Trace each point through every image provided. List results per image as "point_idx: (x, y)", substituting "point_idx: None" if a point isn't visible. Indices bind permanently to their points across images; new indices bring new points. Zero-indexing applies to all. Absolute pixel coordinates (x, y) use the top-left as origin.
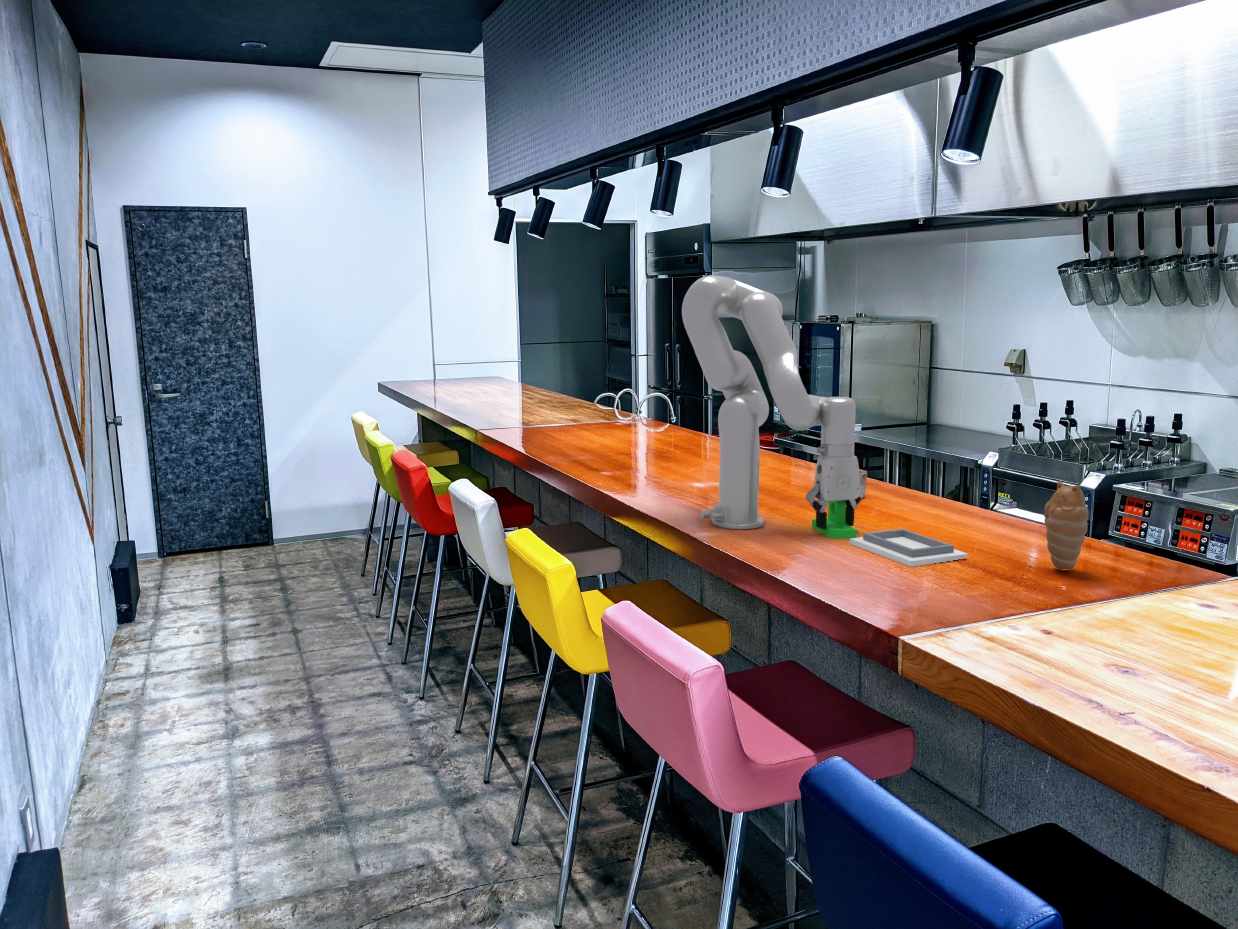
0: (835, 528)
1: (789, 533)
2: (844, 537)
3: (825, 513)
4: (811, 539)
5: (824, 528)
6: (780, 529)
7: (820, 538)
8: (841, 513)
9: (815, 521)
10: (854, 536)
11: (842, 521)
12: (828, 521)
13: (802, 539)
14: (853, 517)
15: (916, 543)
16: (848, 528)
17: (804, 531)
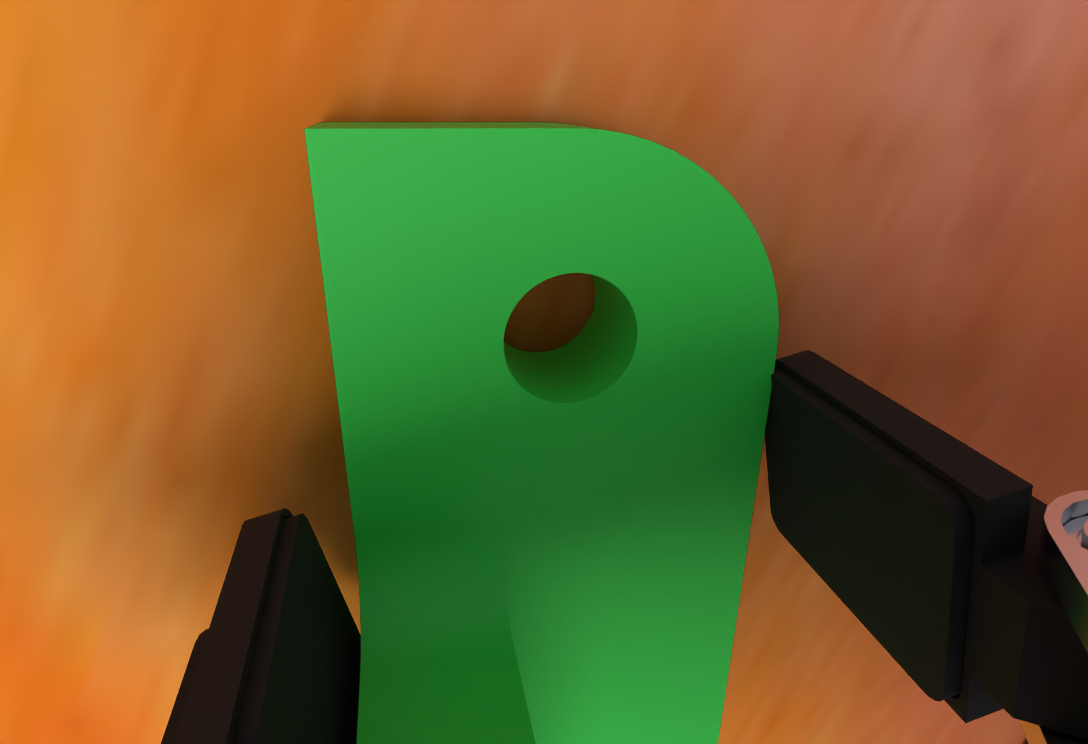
0: (672, 290)
1: (1022, 464)
2: (542, 123)
3: (999, 477)
4: (980, 164)
5: (803, 352)
6: None
7: (849, 200)
8: (450, 739)
9: (721, 700)
10: (361, 123)
11: (419, 614)
12: (574, 691)
13: (1073, 182)
14: (221, 618)
15: None
16: (444, 259)
17: None
